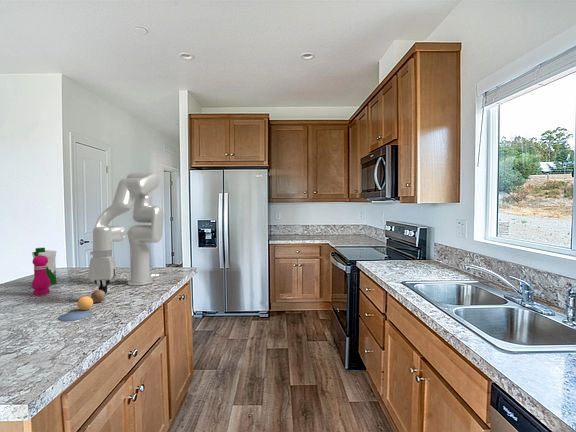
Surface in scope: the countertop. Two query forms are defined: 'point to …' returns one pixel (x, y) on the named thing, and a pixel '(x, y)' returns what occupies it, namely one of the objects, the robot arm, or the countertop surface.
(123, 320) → the countertop surface
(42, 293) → the pepper mill
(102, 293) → the brown egg
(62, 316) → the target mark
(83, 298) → the object ball
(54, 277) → the milk carton
